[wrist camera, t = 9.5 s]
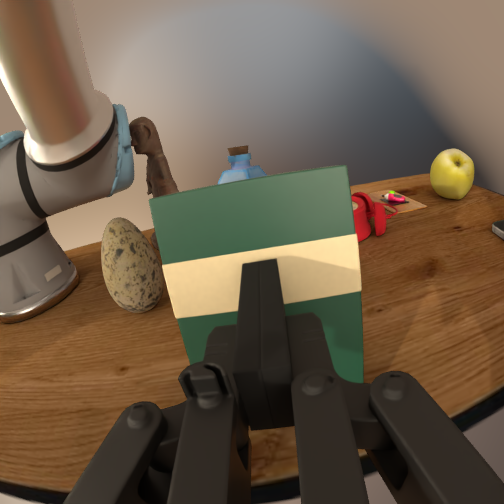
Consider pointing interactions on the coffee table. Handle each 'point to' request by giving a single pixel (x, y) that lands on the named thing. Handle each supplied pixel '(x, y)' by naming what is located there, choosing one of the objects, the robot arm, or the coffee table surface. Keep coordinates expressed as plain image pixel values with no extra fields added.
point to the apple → (452, 174)
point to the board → (395, 201)
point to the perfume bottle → (240, 166)
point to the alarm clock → (369, 215)
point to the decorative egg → (130, 267)
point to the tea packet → (265, 255)
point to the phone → (498, 228)
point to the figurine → (152, 160)
